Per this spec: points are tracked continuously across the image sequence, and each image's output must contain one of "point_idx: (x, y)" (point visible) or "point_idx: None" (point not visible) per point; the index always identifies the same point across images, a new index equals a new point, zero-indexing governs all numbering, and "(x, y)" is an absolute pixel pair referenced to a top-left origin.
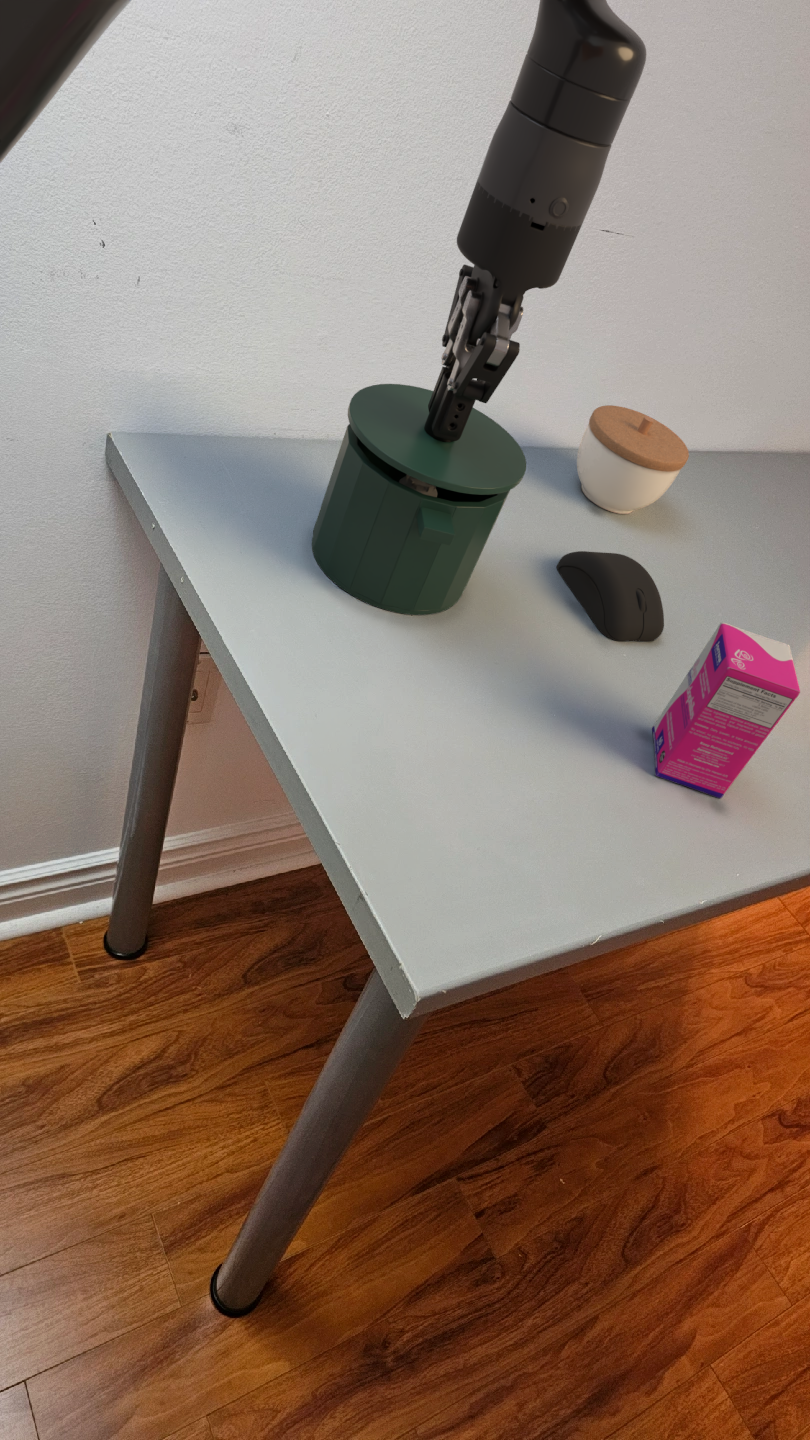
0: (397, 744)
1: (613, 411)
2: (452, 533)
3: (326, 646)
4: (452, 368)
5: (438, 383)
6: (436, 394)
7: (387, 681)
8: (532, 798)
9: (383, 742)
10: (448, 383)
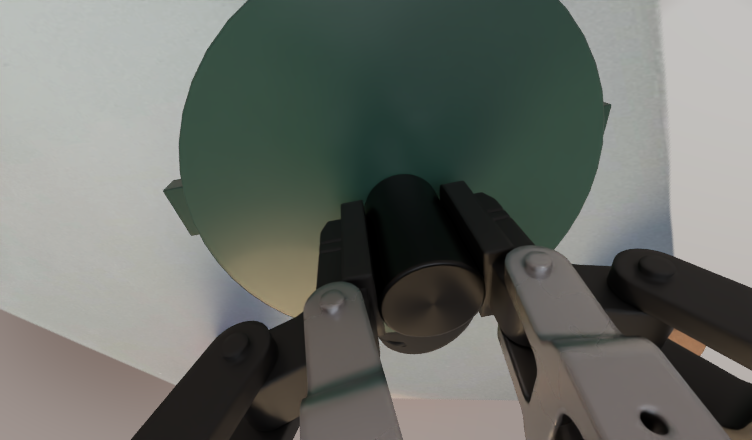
0: (57, 161)
1: (690, 344)
2: (190, 232)
3: (145, 57)
4: (496, 280)
5: (469, 224)
6: (418, 220)
7: (147, 139)
8: (107, 271)
9: (45, 147)
10: (325, 296)
